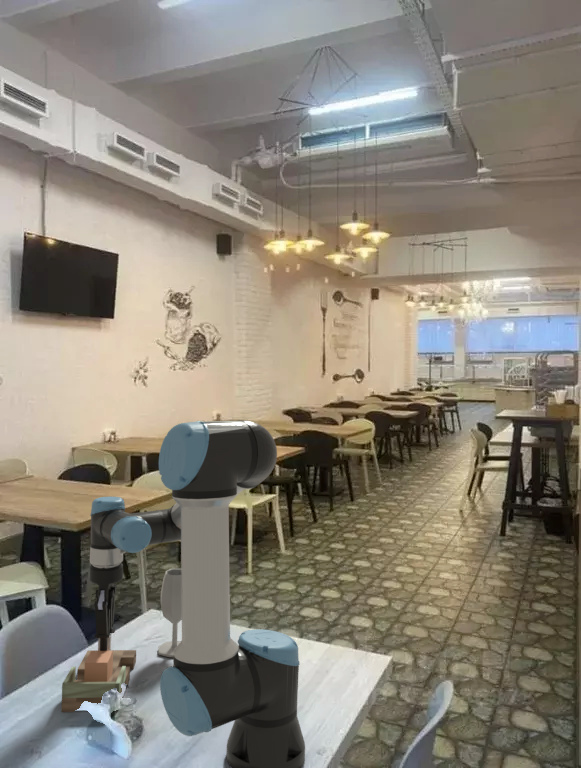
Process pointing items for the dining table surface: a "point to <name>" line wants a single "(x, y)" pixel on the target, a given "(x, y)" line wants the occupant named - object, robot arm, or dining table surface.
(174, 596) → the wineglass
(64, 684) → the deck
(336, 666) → the dining table surface
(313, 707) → the dining table surface
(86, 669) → the block
